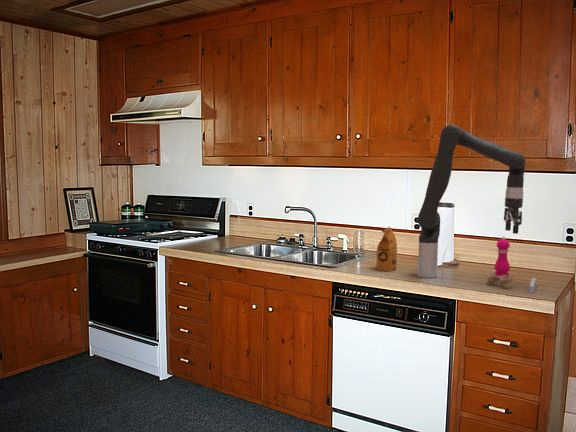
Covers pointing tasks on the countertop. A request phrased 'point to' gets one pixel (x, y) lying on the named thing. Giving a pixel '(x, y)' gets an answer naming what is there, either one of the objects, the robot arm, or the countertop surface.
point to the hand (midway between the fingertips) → (511, 232)
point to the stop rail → (532, 285)
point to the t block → (500, 281)
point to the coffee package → (387, 252)
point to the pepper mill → (502, 258)
